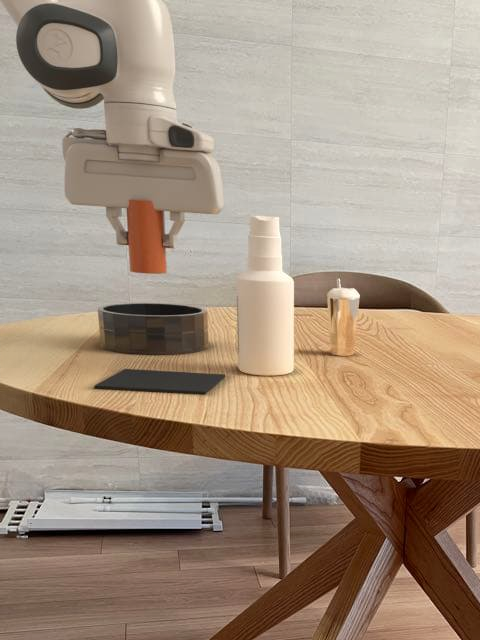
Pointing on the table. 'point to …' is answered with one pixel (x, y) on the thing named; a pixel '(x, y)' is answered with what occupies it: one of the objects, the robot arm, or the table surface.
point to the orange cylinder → (146, 238)
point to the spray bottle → (265, 304)
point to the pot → (153, 328)
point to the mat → (161, 381)
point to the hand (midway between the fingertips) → (147, 246)
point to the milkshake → (342, 319)
